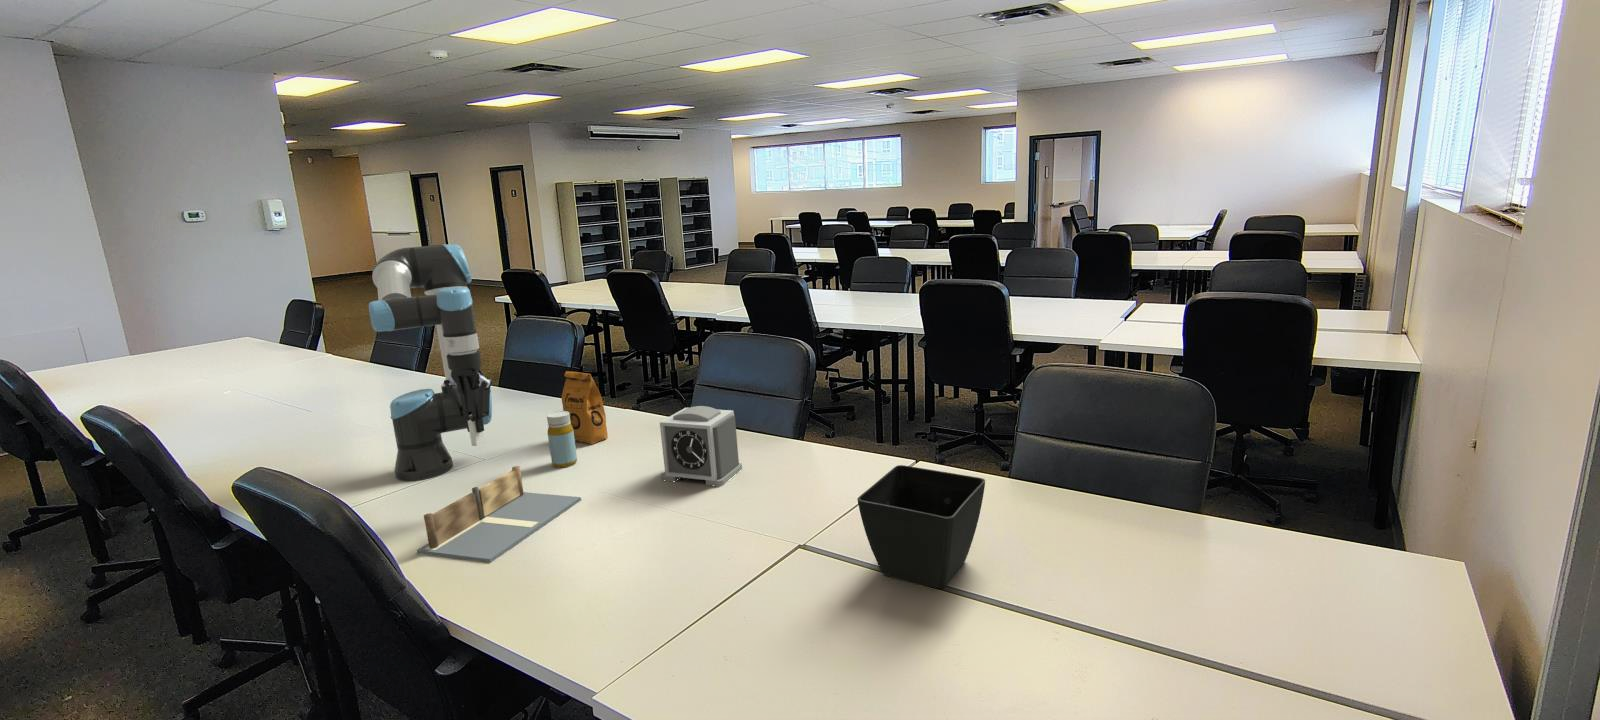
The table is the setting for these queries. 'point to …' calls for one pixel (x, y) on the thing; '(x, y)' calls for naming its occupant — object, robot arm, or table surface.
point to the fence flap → (501, 491)
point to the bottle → (561, 439)
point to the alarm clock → (700, 445)
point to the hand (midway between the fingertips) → (478, 444)
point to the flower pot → (921, 522)
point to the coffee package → (584, 407)
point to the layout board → (503, 527)
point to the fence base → (453, 518)
